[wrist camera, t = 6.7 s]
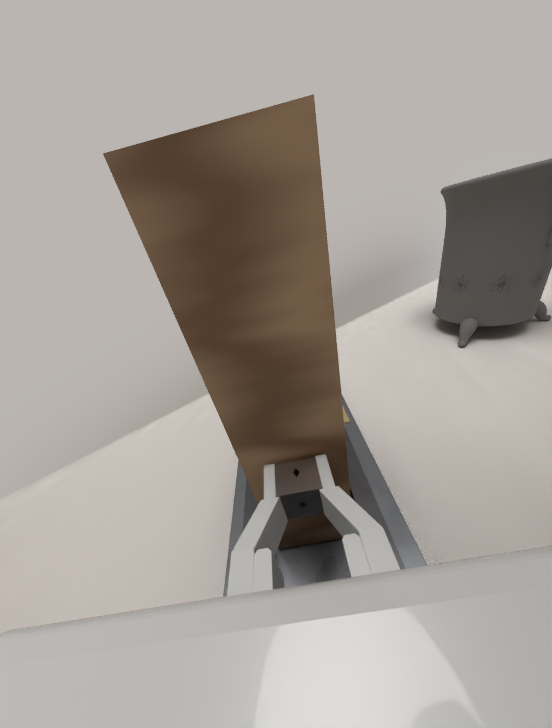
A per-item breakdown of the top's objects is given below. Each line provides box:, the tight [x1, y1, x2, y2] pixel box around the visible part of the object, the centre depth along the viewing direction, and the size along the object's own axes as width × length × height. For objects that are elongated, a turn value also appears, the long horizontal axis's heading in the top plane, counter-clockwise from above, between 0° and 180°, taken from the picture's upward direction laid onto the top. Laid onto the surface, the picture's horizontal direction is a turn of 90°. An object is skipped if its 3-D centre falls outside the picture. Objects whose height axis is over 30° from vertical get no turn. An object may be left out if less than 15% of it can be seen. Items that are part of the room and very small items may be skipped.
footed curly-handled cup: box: [433, 159, 552, 347], centre depth 29 cm, size 19×15×25 cm
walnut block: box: [103, 95, 351, 549], centre depth 13 cm, size 5×6×20 cm
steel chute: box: [223, 394, 427, 597], centre depth 20 cm, size 12×25×4 cm, turn 3°
